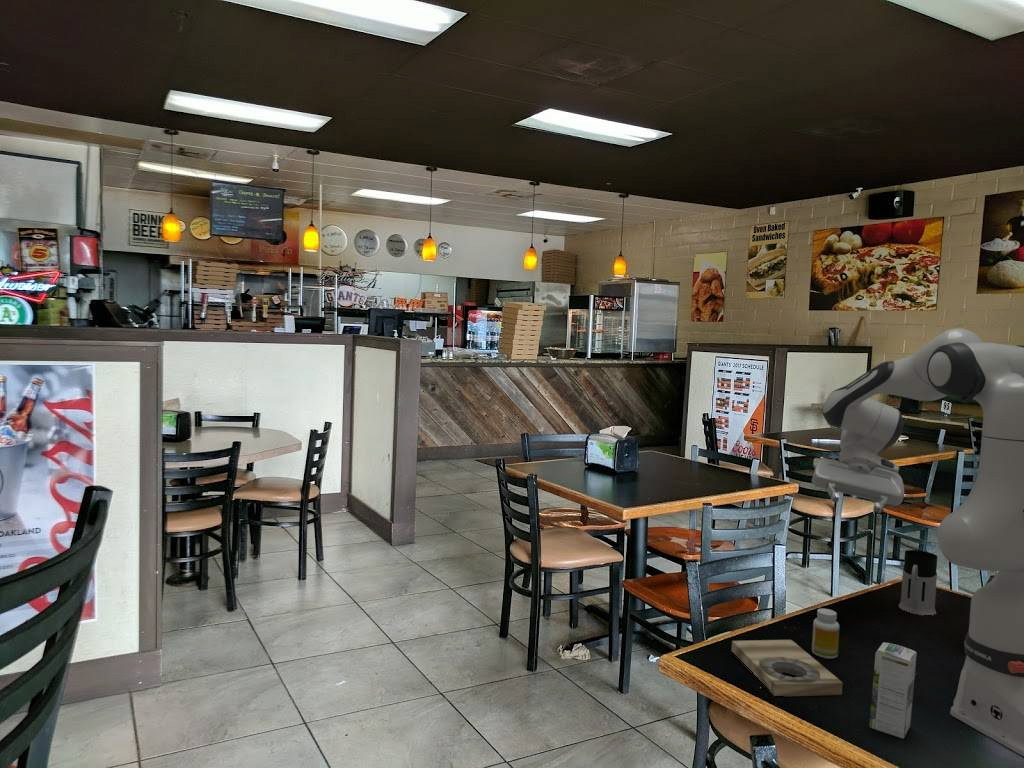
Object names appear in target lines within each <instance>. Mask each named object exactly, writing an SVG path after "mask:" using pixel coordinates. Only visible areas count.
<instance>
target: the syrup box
mask: <svg viewBox="0 0 1024 768" xmlns="http://www.w3.org/2000/svg"><path fill="white" fill-rule="evenodd" d="M917 653H918V652H916V650H913V649H911V648H908V647H905V646H902V645H899V644H894V643H891V642H882V643H881V645H880V646H879V648H878V649H877V650H876V651H875V656H874V668H873V679H872V680H873V681H872V691H871V702H870V703H871V704H870V714H869V728H871V729H873V730H876V731H877V732H882V733H884V734H888V735H890V736H894V737H897V738H900V739H903V740H904V739H905V737H906V736H907V734H908V731H909V729H910V727H911V724H912V723H911V721H912V711H913V700H914V690H915V689H914V688H915V687H914V686H915V678H916V664H917V663H916V662H917Z"/></svg>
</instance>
